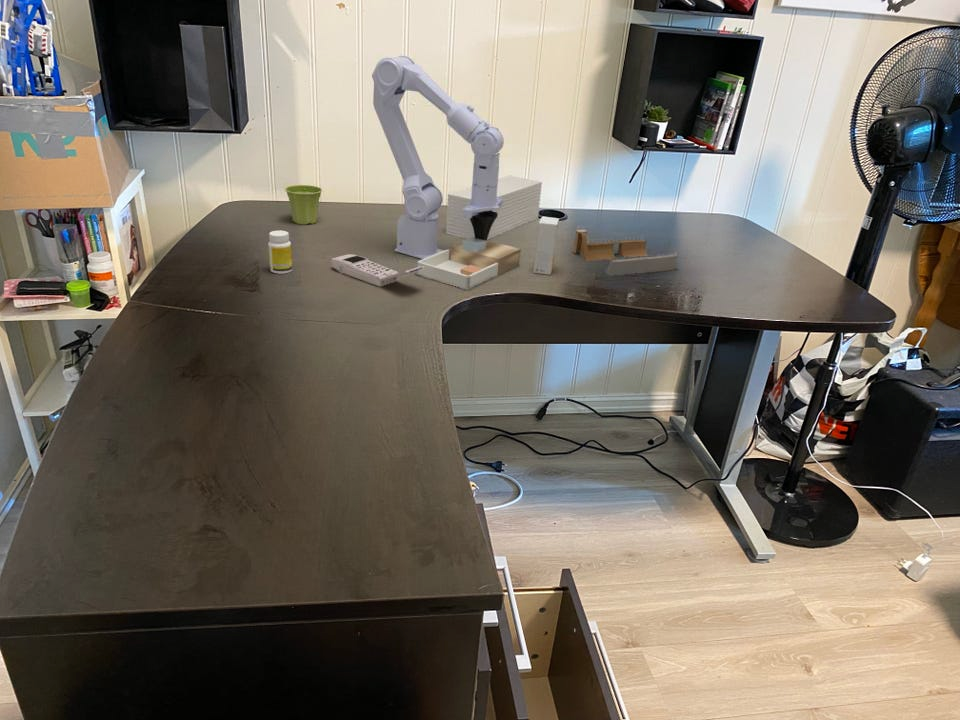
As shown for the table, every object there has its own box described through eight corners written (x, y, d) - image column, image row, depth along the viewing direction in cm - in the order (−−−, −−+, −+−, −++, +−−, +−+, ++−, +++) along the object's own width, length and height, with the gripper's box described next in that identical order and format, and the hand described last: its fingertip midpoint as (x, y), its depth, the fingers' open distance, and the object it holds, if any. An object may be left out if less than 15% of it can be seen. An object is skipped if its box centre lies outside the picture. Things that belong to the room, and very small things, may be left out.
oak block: (450, 262, 166) (451, 246, 164) (473, 252, 173) (474, 237, 172) (497, 275, 160) (498, 259, 158) (519, 265, 167) (520, 248, 166)
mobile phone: (406, 271, 142) (322, 241, 155) (405, 299, 145) (322, 267, 158) (426, 265, 147) (342, 236, 159) (425, 292, 149) (342, 261, 162)
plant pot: (294, 215, 192) (292, 183, 188) (328, 218, 191) (327, 186, 187) (281, 224, 184) (279, 191, 180) (316, 228, 183) (315, 195, 179)
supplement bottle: (296, 271, 154) (295, 234, 150) (278, 275, 151) (275, 237, 147) (284, 265, 157) (282, 228, 153) (265, 269, 154) (262, 232, 150)
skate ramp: (602, 288, 160) (607, 256, 156) (530, 241, 188) (533, 213, 184) (704, 277, 171) (710, 247, 168) (621, 234, 199) (626, 208, 196)
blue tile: (461, 249, 162) (462, 240, 162) (471, 245, 166) (471, 237, 165) (476, 253, 161) (477, 244, 160) (485, 249, 164) (486, 240, 163)
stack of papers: (506, 211, 211) (509, 175, 206) (538, 218, 206) (541, 181, 201) (445, 234, 186) (447, 193, 182) (480, 243, 182) (483, 201, 177)
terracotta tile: (470, 264, 158) (469, 273, 159) (460, 269, 155) (460, 277, 156) (485, 268, 156) (484, 277, 157) (475, 273, 153) (475, 282, 154)
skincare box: (551, 275, 163) (557, 224, 157) (532, 273, 163) (538, 222, 158) (553, 267, 168) (559, 217, 162) (536, 265, 169) (541, 215, 163)
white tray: (415, 274, 157) (416, 261, 156) (446, 261, 166) (447, 249, 165) (468, 290, 151) (468, 277, 149) (497, 275, 160) (498, 263, 158)
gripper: (482, 193, 152) (478, 253, 158) (516, 182, 163) (511, 239, 169) (455, 187, 155) (452, 246, 161) (490, 177, 166) (486, 233, 172)
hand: (480, 242), depth 165 cm, fingers closed
